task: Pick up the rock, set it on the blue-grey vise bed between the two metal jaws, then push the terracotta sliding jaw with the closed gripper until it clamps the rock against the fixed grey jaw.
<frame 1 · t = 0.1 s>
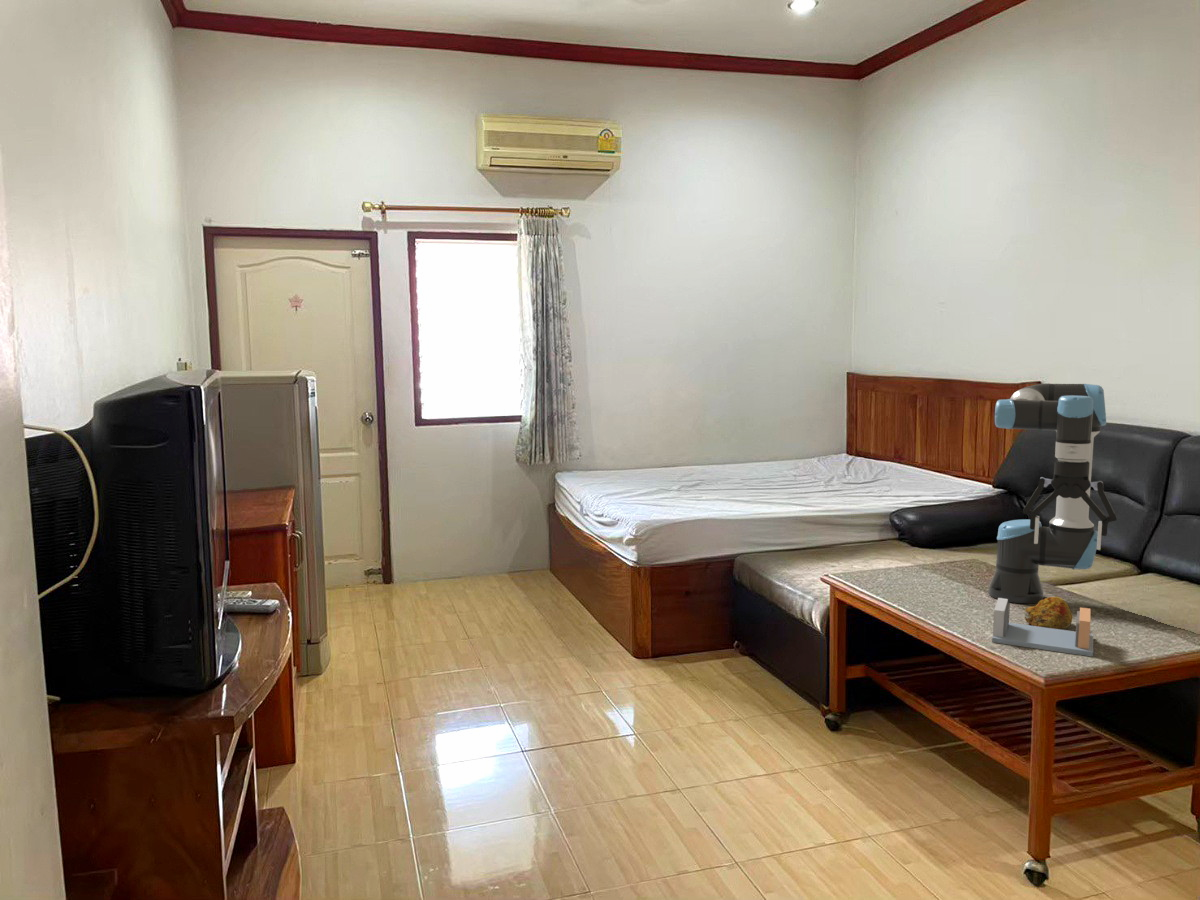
hand: (1066, 545, 219), 28 cm above the table, fingers open, 13 cm apart
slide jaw: (1082, 627, 229), point 5 cm above the table, slide at 0.0 cm
rock: (1048, 626, 246), on the table
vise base: (1042, 640, 234), on the table
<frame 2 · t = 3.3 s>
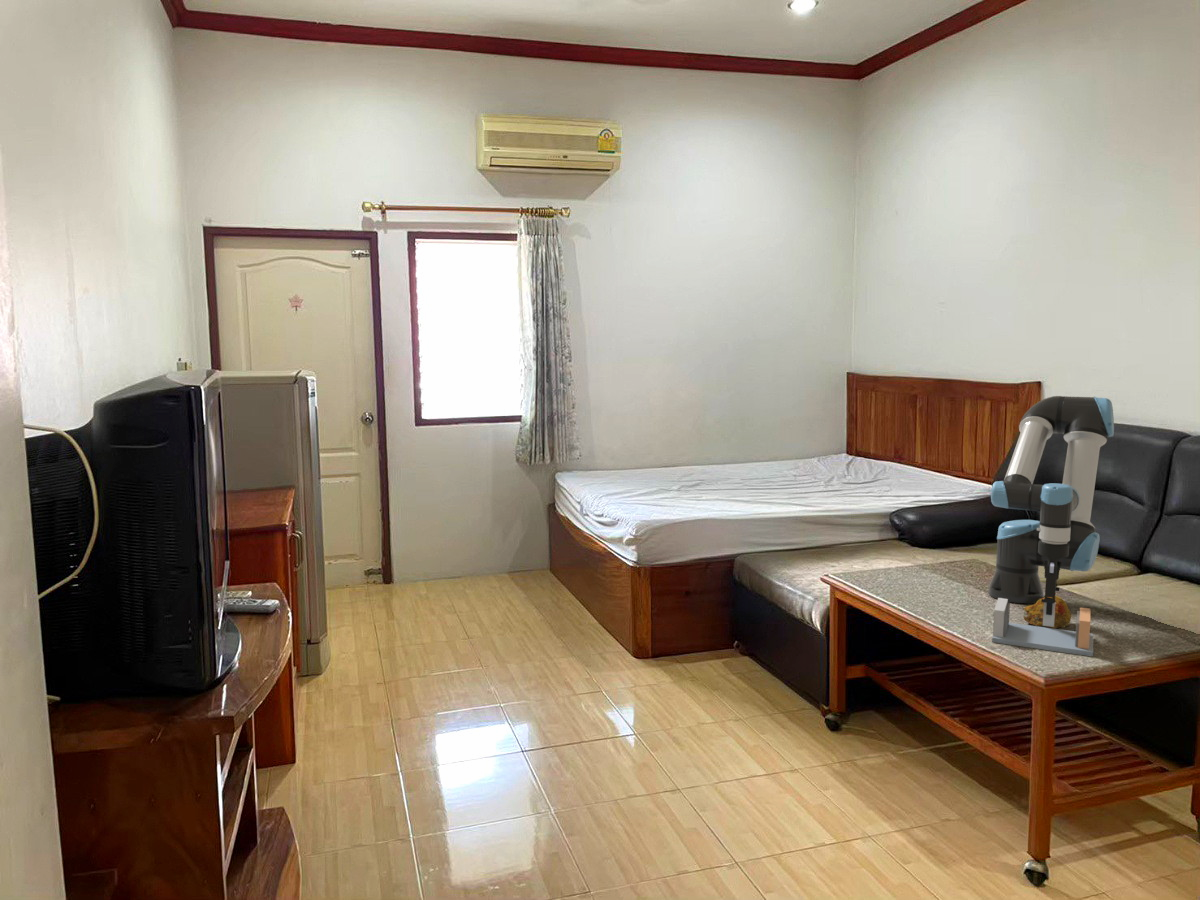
hand: (1049, 619, 245), 2 cm above the table, fingers closed on rock, 11 cm apart
rock: (1047, 625, 246), on the table, touching gripper
everything else where it was.
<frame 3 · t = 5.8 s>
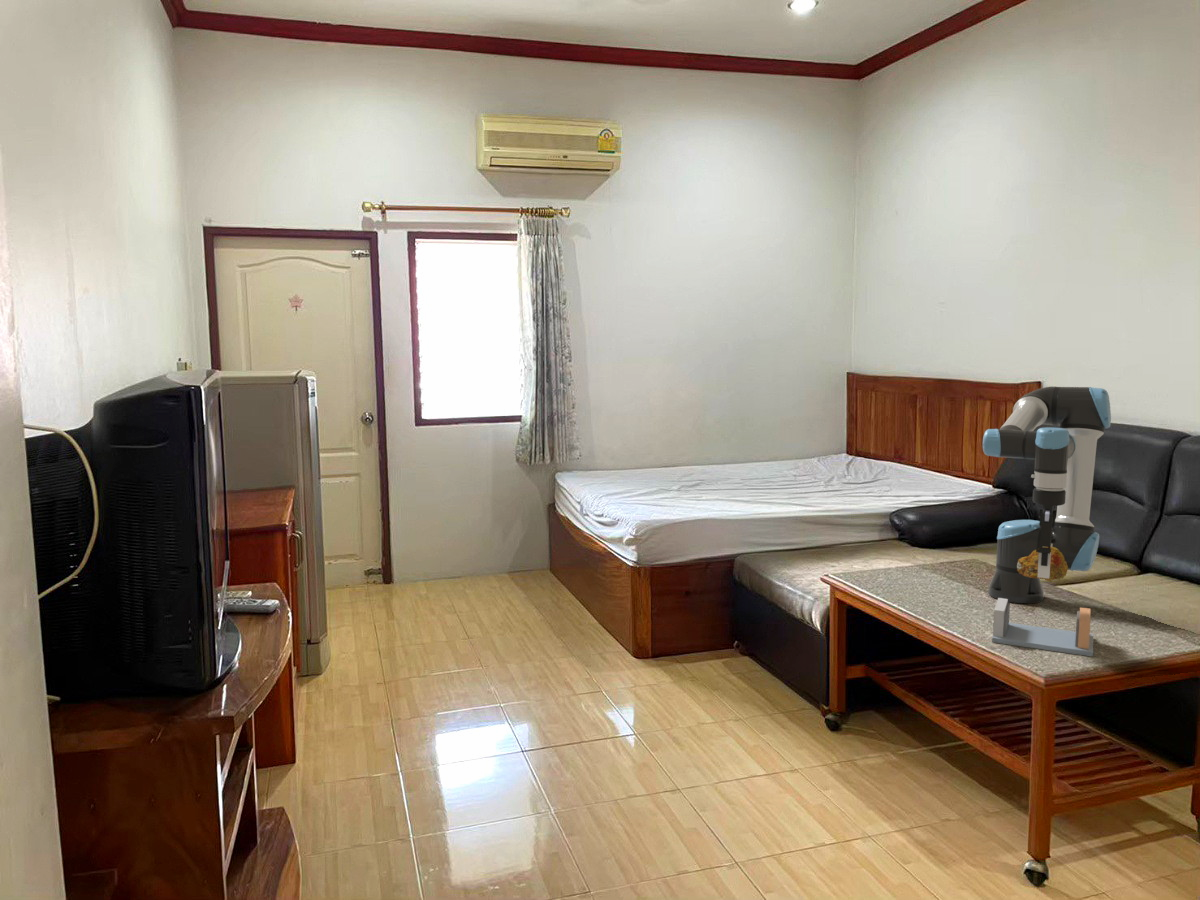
hand: (1044, 572, 232), 18 cm above the table, fingers closed on rock, 11 cm apart
rock: (1042, 577, 233), point 16 cm above the table, touching gripper
everything else where it was.
when the fingers open (4 cm above the table, at t = 8.5 s): rock drops 2 cm, resting on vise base.
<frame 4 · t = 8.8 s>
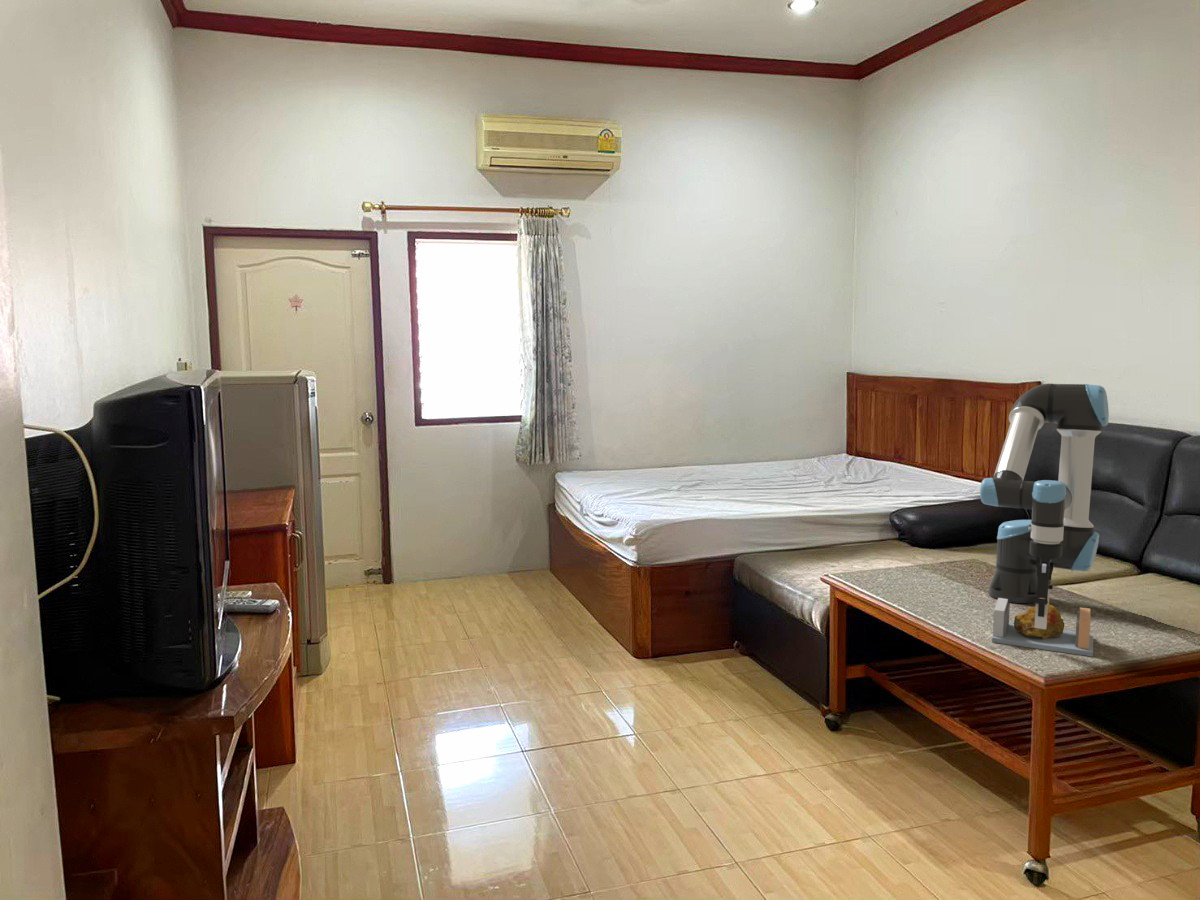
hand: (1041, 620, 233), 5 cm above the table, fingers open, 13 cm apart
rock: (1039, 634, 235), point 1 cm above the table, touching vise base
everything else where it was.
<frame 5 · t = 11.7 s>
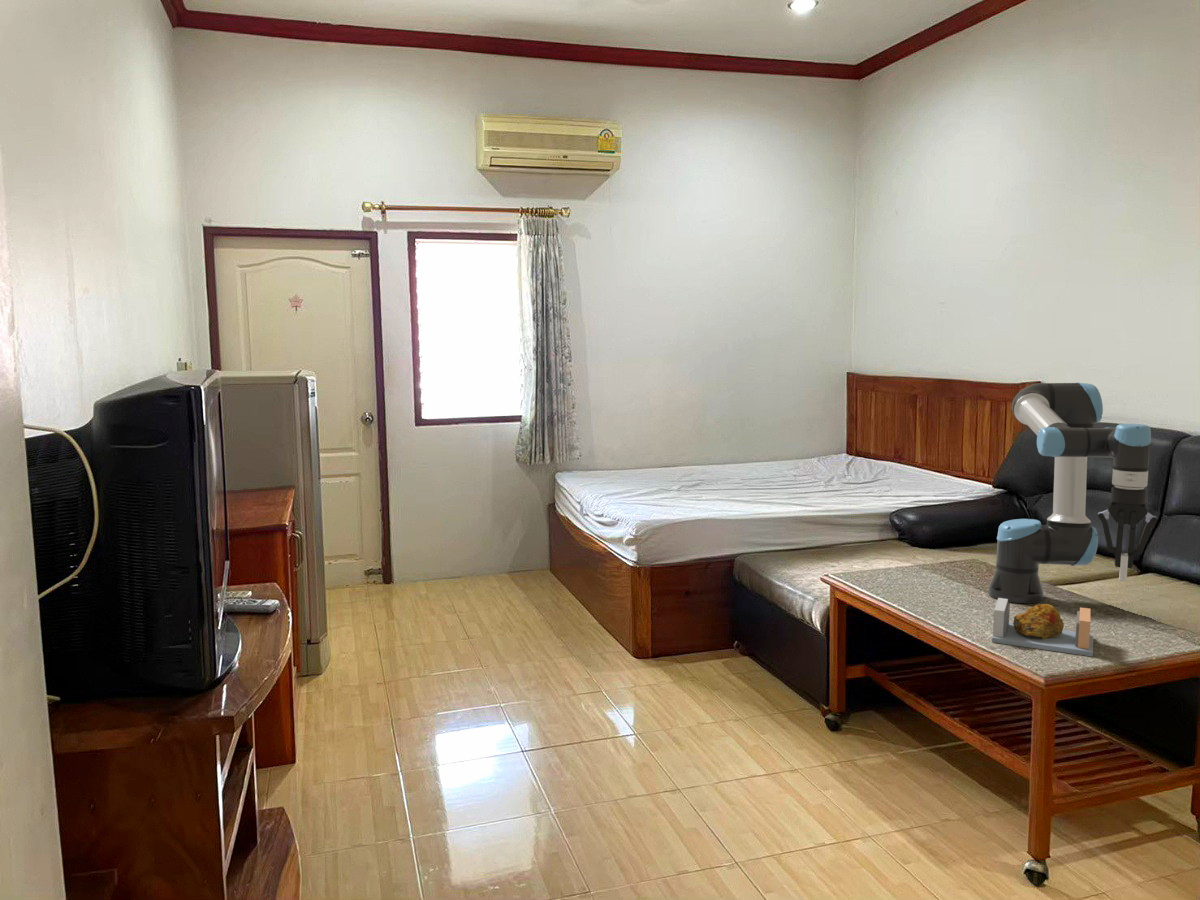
hand: (1122, 580, 223), 18 cm above the table, fingers closed
nothing on the table moved.
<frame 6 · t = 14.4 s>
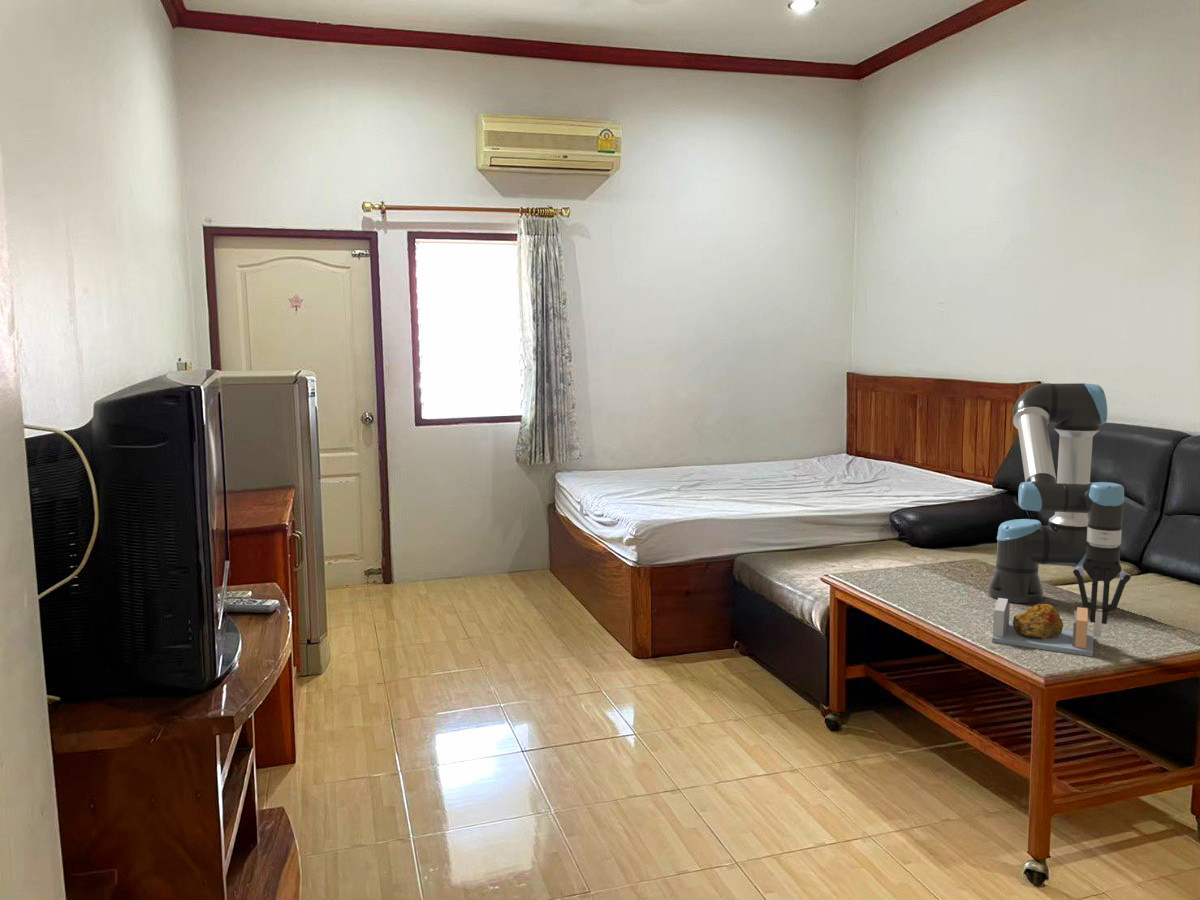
hand: (1097, 635, 228), 3 cm above the table, fingers closed
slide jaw: (1080, 627, 229), point 5 cm above the table, slide at 0.6 cm, touching gripper
everything else where it was.
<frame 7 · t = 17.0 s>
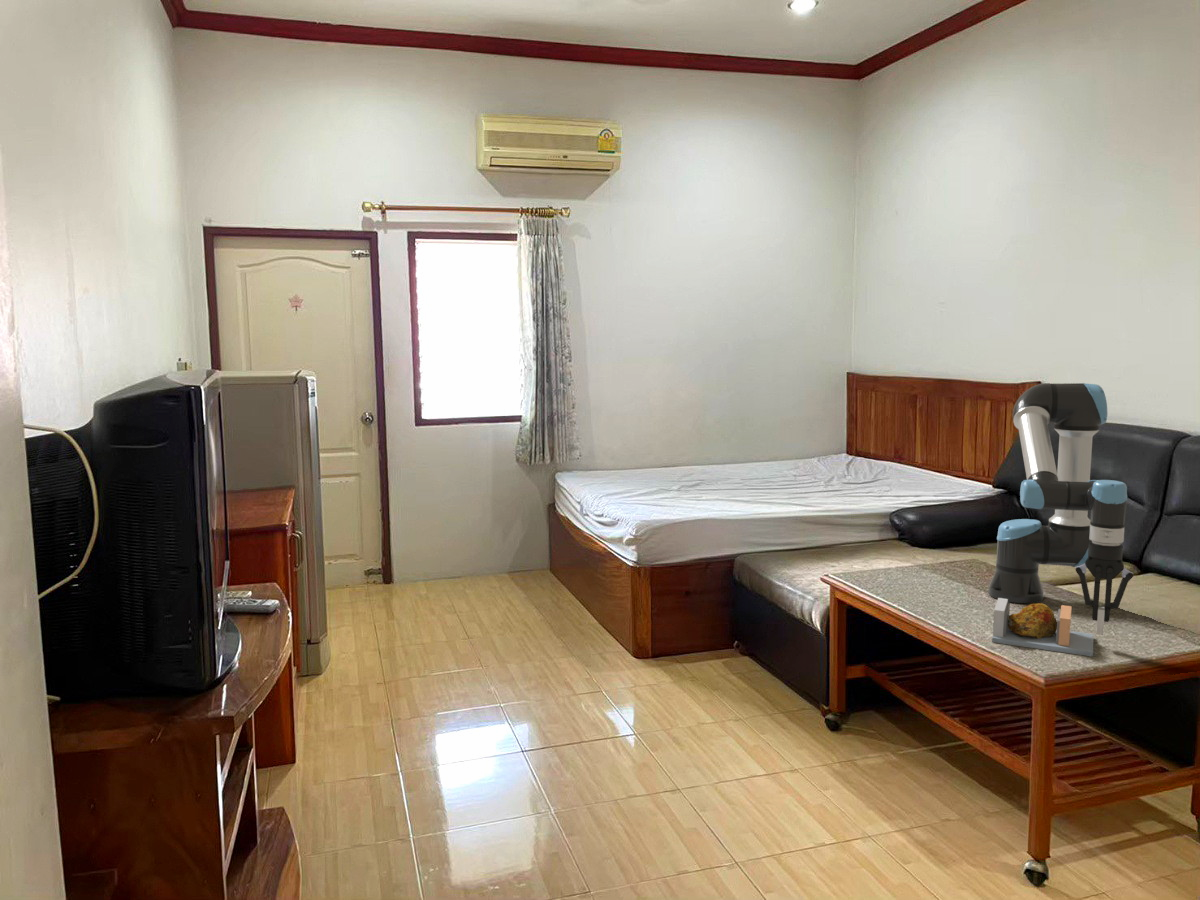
hand: (1099, 632, 227), 4 cm above the table, fingers closed
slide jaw: (1063, 625, 231), point 5 cm above the table, slide at 4.3 cm
rock: (1032, 634, 235), point 1 cm above the table, touching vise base
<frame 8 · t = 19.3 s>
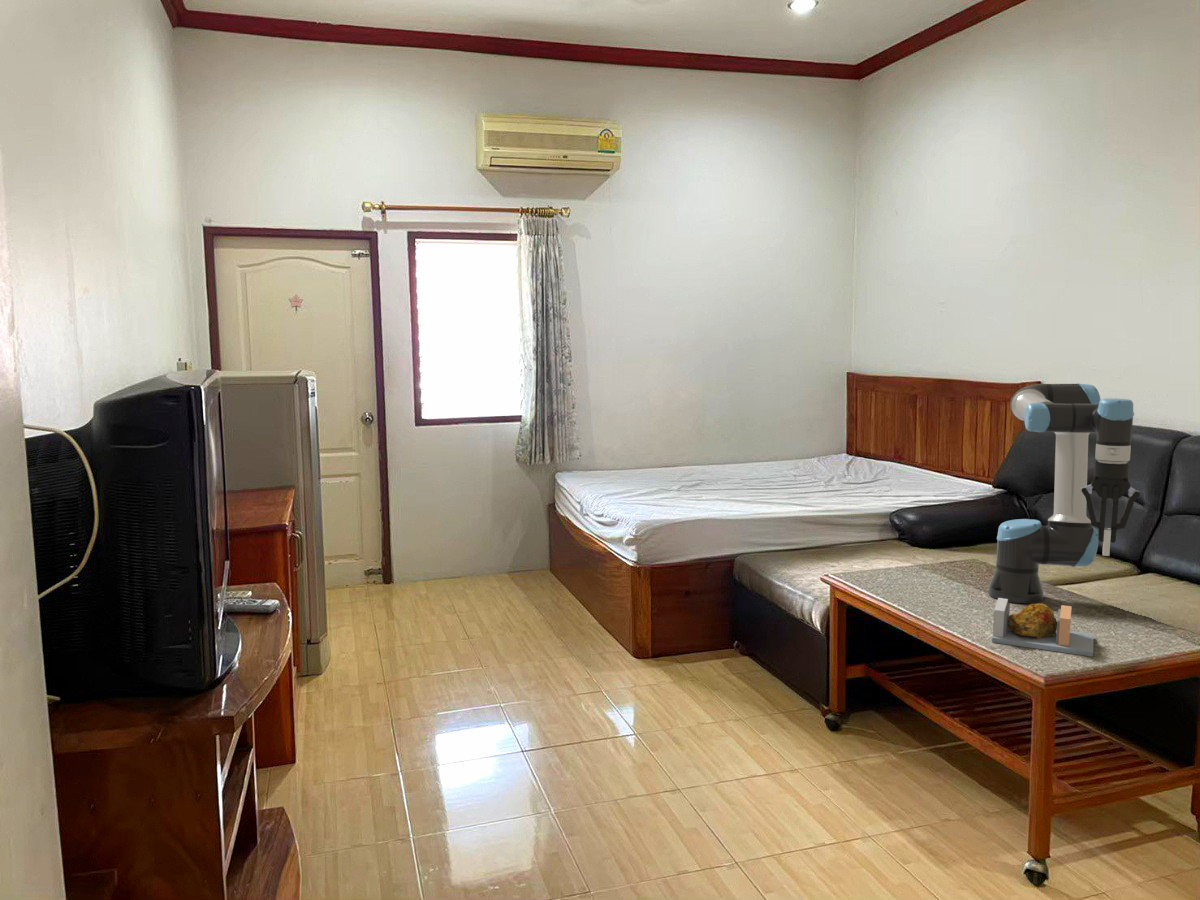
hand: (1105, 554, 224), 24 cm above the table, fingers closed
nothing on the table moved.
at the end: rock inside the target area (0.7 cm from its centre), point 1.0 cm above the table; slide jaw slide at 4.3 cm; rock tilted 0° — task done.
